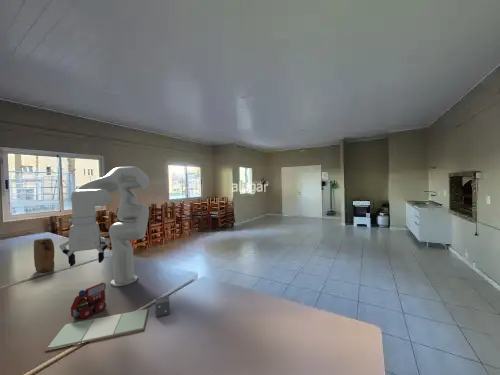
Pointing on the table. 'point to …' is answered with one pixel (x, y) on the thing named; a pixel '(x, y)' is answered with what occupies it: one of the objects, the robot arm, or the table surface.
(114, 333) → the pale green flat board
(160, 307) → the die
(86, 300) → the toy fire truck
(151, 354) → the table surface
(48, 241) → the block
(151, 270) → the table surface
